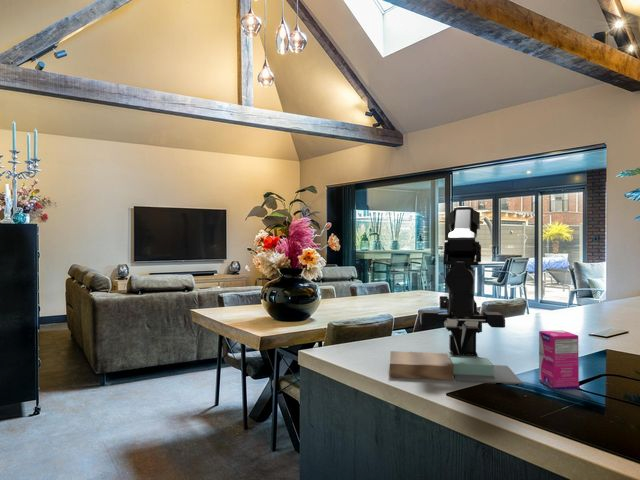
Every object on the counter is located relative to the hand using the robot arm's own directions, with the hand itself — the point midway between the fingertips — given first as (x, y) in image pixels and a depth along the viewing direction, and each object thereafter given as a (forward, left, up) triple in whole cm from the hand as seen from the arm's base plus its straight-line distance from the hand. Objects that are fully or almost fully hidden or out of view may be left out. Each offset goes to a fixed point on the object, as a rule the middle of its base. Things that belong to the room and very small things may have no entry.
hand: (460, 355), depth 108 cm
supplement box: (-20, +6, -4) cm, 21 cm away
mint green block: (-2, 0, -3) cm, 3 cm away
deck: (+9, 0, -4) cm, 10 cm away
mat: (-5, 0, -4) cm, 7 cm away
